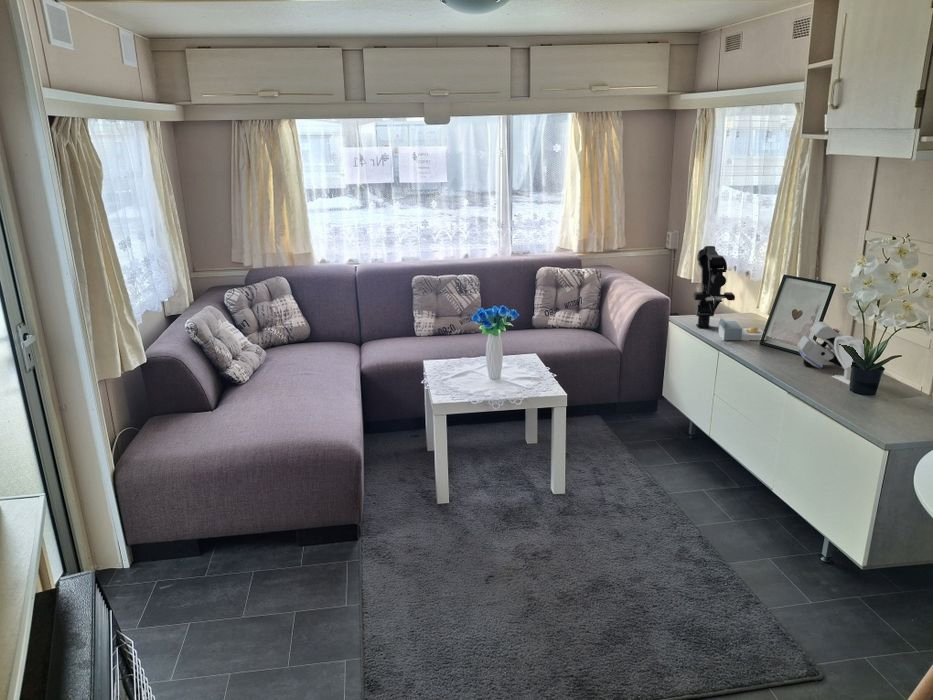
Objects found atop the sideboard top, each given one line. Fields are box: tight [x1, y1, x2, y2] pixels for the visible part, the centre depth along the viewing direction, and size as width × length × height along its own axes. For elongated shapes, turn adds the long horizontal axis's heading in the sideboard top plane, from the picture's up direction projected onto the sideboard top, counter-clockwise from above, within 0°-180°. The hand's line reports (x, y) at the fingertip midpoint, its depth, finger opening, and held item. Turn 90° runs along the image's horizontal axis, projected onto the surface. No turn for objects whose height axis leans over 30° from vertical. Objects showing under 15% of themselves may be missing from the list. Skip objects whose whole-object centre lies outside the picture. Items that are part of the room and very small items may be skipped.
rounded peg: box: [748, 326, 759, 333], centre depth 352 cm, size 4×4×5 cm
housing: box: [717, 323, 764, 341], centre depth 352 cm, size 12×20×5 cm, turn 83°
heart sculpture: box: [831, 335, 865, 386], centre depth 289 cm, size 16×5×18 cm, turn 12°
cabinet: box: [717, 317, 743, 341], centre depth 352 cm, size 14×8×8 cm, turn 173°
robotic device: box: [797, 321, 845, 370], centre depth 307 cm, size 10×21×20 cm
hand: (712, 313), depth 351 cm, fingers closed
